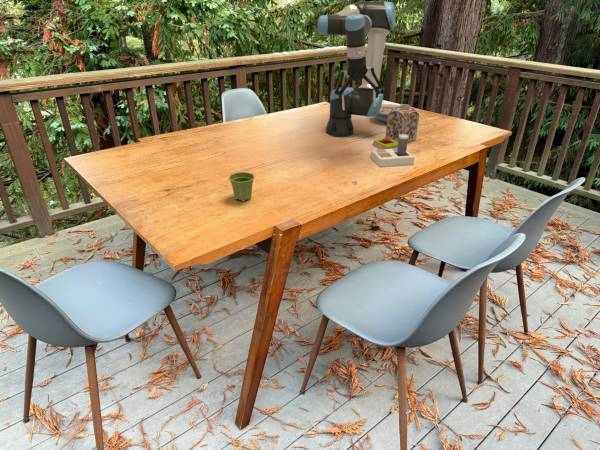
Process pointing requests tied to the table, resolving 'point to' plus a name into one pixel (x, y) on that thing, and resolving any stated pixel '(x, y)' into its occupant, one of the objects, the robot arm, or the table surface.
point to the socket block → (391, 158)
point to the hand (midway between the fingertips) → (359, 107)
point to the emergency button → (385, 143)
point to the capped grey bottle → (402, 145)
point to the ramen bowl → (385, 111)
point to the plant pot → (242, 185)
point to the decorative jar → (402, 123)
